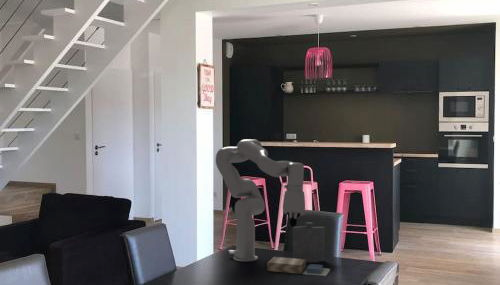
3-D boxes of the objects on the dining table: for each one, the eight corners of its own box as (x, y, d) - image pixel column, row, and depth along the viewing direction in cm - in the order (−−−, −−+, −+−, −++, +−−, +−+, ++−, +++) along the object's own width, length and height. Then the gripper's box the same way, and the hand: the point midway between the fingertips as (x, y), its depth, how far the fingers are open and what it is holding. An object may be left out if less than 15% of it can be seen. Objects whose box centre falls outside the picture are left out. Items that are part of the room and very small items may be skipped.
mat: (302, 274, 250) (302, 273, 250) (307, 267, 262) (307, 266, 262) (326, 276, 246) (326, 275, 246) (330, 269, 259) (330, 268, 259)
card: (319, 269, 249) (319, 273, 249) (322, 264, 258) (322, 269, 258) (306, 268, 251) (306, 272, 251) (310, 263, 260) (310, 268, 260)
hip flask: (323, 260, 277) (324, 221, 277) (325, 262, 273) (325, 223, 273) (292, 260, 276) (293, 221, 276) (294, 262, 272) (294, 223, 272)
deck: (267, 270, 255) (267, 262, 255) (273, 264, 267) (273, 256, 267) (300, 273, 250) (300, 265, 250) (305, 267, 262) (305, 259, 262)
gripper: (277, 188, 257) (276, 226, 258) (308, 190, 253) (306, 229, 253) (281, 186, 264) (280, 223, 265) (311, 188, 260) (310, 226, 260)
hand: (293, 226), depth 259 cm, fingers closed
